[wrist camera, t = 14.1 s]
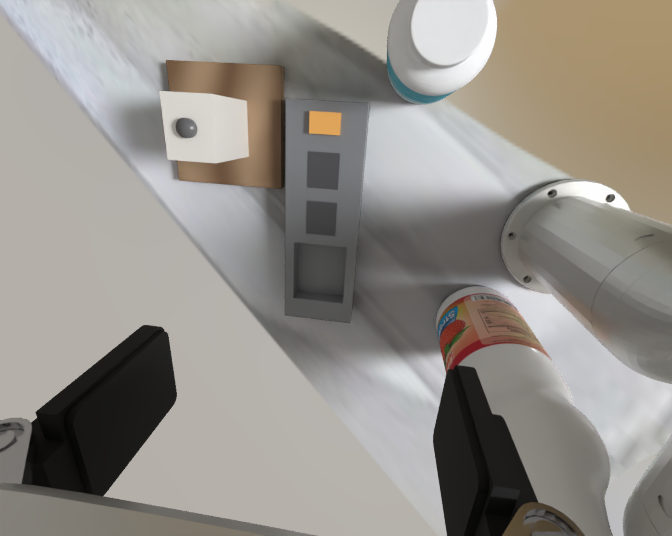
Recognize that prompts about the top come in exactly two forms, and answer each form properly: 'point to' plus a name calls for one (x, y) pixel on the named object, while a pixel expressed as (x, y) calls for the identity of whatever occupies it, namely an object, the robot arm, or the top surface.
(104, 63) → the top surface
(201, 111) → the block
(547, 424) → the fruit juice
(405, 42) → the pill bottle
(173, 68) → the walnut mat
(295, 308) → the power strip
